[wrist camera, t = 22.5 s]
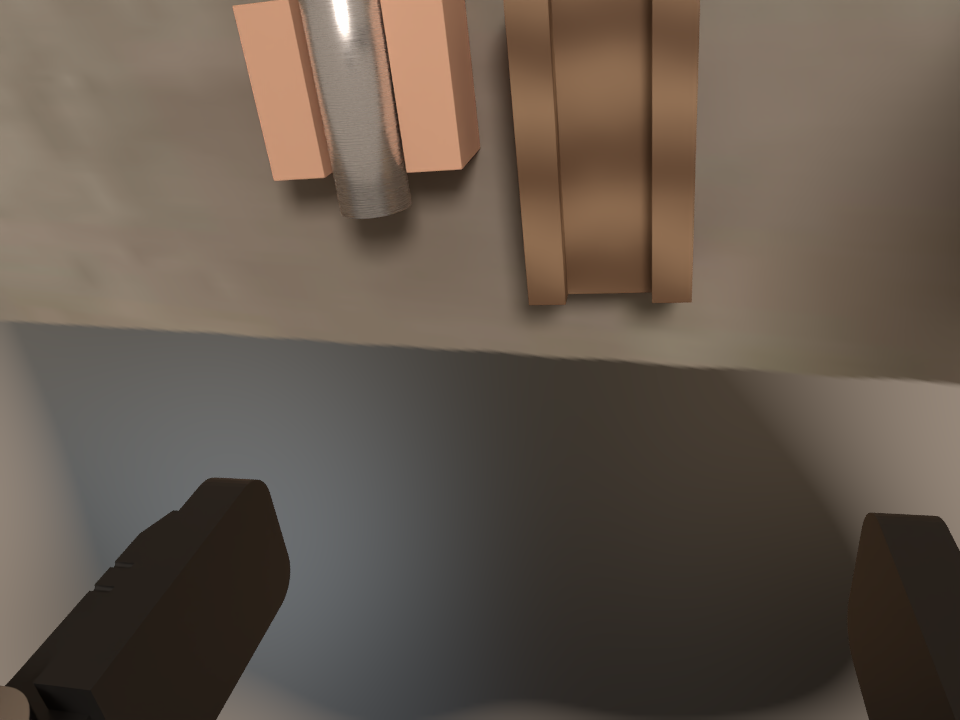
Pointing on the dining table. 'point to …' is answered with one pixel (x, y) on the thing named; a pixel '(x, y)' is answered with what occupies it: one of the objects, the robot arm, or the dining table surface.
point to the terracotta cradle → (415, 73)
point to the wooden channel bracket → (605, 144)
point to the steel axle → (357, 105)
